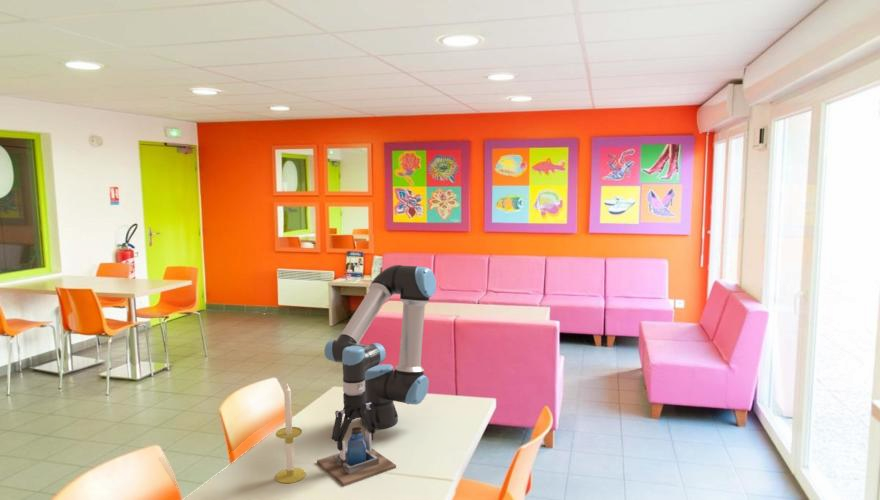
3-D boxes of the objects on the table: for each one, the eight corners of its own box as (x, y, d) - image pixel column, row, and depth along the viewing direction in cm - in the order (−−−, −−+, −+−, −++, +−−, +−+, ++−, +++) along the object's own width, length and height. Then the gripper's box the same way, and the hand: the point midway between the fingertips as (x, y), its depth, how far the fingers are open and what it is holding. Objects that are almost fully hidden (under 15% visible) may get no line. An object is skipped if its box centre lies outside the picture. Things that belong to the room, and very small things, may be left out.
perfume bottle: (348, 458, 207) (347, 425, 206) (365, 457, 208) (365, 424, 206) (347, 466, 201) (347, 433, 200) (365, 465, 202) (365, 432, 200)
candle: (277, 486, 191) (273, 389, 187) (273, 472, 200) (269, 379, 196) (308, 479, 195) (305, 385, 191) (302, 466, 204) (299, 375, 200)
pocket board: (316, 462, 206) (316, 454, 206) (366, 447, 218) (366, 439, 218) (344, 486, 190) (343, 477, 190) (396, 467, 202) (395, 459, 202)
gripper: (329, 402, 191) (331, 467, 194) (387, 387, 205) (388, 448, 207) (319, 396, 197) (321, 459, 200) (376, 382, 211) (377, 441, 213)
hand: (355, 454), depth 204 cm, fingers open, 10 cm apart
